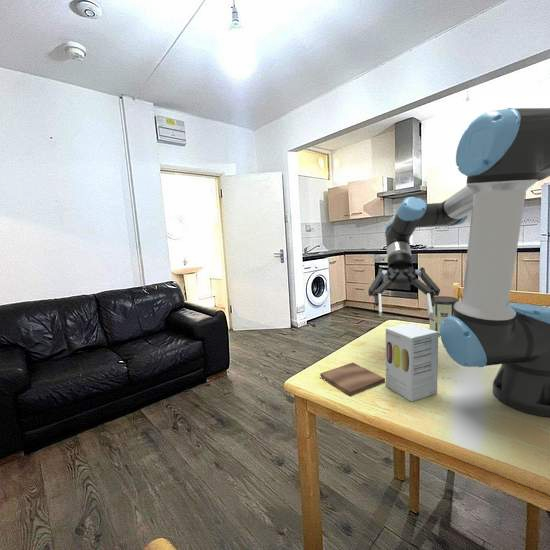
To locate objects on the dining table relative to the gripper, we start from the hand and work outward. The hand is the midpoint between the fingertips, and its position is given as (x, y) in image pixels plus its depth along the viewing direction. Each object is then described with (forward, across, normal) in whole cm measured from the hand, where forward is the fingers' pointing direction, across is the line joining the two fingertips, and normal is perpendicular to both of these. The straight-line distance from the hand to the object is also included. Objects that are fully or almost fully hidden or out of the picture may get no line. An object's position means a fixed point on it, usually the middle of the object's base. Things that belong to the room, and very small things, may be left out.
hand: (405, 314), depth 88 cm
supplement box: (+20, 0, -6) cm, 21 cm away
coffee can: (-14, -18, -40) cm, 46 cm away
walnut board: (+18, +15, -8) cm, 25 cm away
